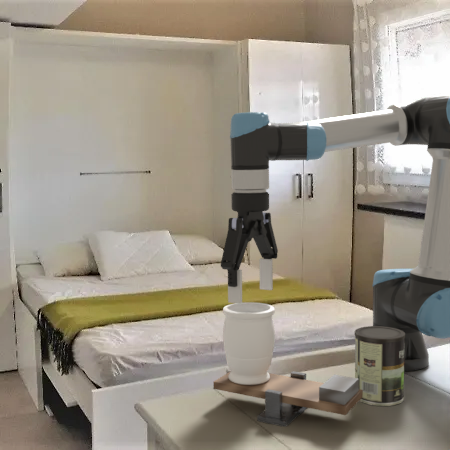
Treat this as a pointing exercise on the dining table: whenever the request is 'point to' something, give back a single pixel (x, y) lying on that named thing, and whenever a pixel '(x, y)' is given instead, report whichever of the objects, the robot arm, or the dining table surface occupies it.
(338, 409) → the beam
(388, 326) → the robot arm
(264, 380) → the jar
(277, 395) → the pivot stand
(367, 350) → the coffee can
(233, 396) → the dining table surface
